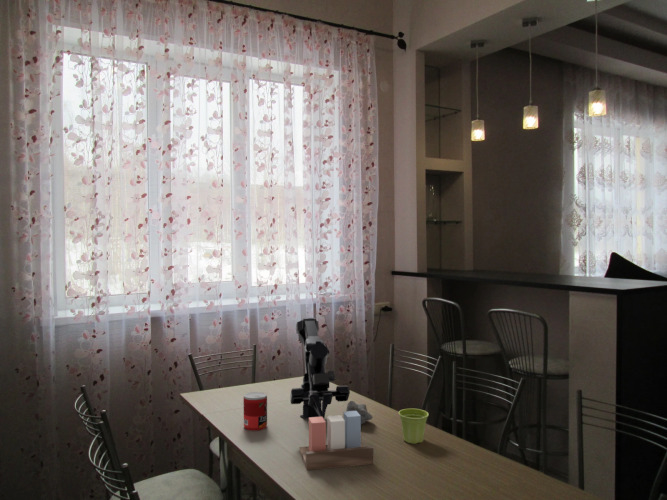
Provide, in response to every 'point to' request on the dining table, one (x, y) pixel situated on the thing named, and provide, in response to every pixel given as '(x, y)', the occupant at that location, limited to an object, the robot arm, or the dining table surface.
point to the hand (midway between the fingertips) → (322, 419)
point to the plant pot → (413, 424)
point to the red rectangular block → (317, 434)
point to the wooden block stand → (336, 457)
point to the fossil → (359, 410)
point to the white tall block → (335, 432)
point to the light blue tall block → (352, 429)
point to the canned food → (255, 411)
